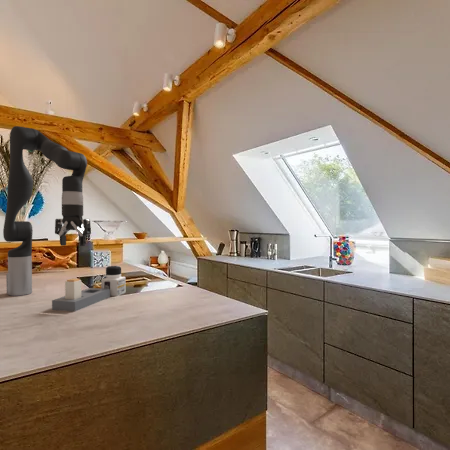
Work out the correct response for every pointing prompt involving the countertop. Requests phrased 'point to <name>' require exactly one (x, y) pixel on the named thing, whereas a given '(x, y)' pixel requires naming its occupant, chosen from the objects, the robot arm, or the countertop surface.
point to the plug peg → (73, 289)
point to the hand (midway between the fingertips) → (72, 245)
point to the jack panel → (81, 300)
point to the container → (114, 281)
